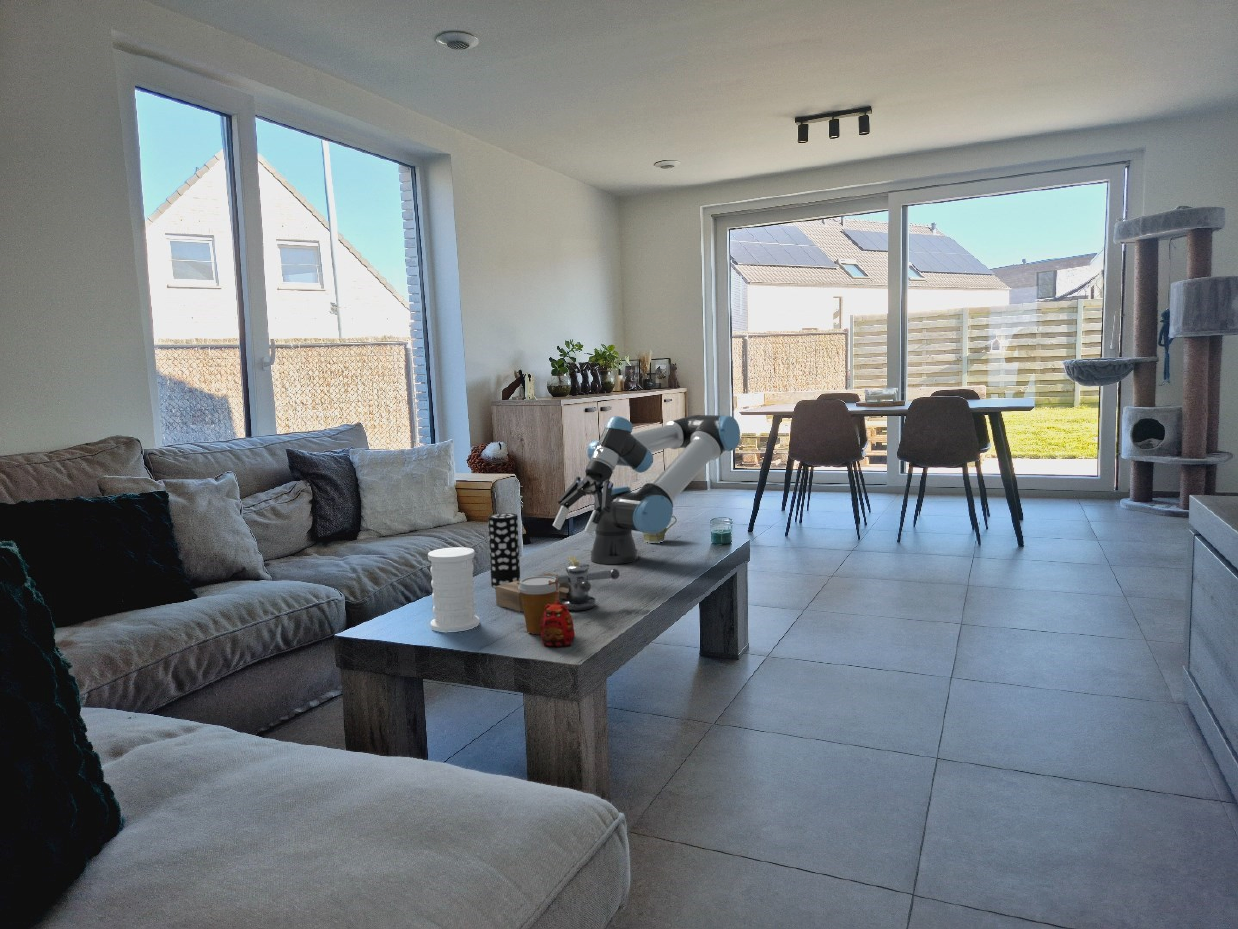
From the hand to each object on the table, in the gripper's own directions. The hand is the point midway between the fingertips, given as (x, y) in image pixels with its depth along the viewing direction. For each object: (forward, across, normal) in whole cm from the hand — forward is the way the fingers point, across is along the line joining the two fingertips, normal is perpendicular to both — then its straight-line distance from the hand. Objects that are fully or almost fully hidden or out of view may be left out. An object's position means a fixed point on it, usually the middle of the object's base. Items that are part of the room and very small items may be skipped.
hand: (571, 530), depth 228 cm
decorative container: (+38, +7, -27) cm, 47 cm away
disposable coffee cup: (+32, +26, -18) cm, 45 cm away
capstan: (+21, +20, -3) cm, 29 cm away
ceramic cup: (-21, -20, +56) cm, 63 cm away
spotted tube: (+20, -14, -1) cm, 25 cm away
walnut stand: (+23, +9, -6) cm, 25 cm away
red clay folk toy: (+34, +36, -20) cm, 54 cm away
